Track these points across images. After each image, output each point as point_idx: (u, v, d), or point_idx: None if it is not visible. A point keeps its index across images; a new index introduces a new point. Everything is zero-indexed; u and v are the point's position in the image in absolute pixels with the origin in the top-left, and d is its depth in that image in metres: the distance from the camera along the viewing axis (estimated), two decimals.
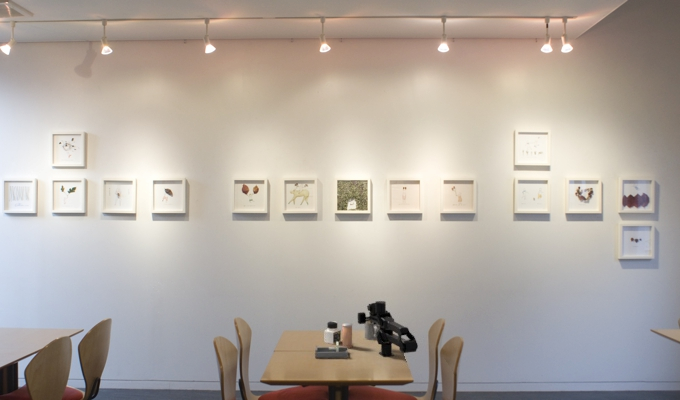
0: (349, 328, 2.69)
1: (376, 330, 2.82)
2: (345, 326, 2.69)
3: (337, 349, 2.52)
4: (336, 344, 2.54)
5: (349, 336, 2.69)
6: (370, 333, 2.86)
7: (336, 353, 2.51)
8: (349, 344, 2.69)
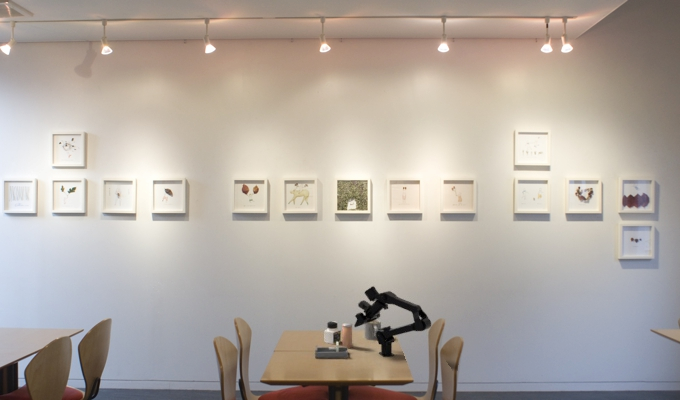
0: (349, 328, 2.69)
1: (376, 330, 2.82)
2: (345, 326, 2.69)
3: (337, 349, 2.52)
4: (336, 344, 2.54)
5: (349, 336, 2.69)
6: (370, 333, 2.86)
7: (336, 353, 2.51)
8: (349, 344, 2.69)
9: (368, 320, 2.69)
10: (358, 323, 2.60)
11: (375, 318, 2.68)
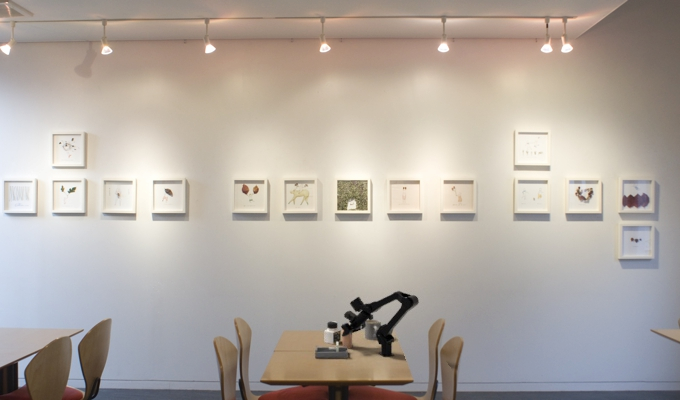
0: None
1: None
2: None
3: (337, 349, 2.52)
4: (336, 344, 2.54)
5: (349, 336, 2.69)
6: (370, 333, 2.86)
7: (336, 353, 2.51)
8: (349, 344, 2.69)
9: (352, 331, 2.73)
10: (345, 333, 2.67)
11: (361, 328, 2.73)
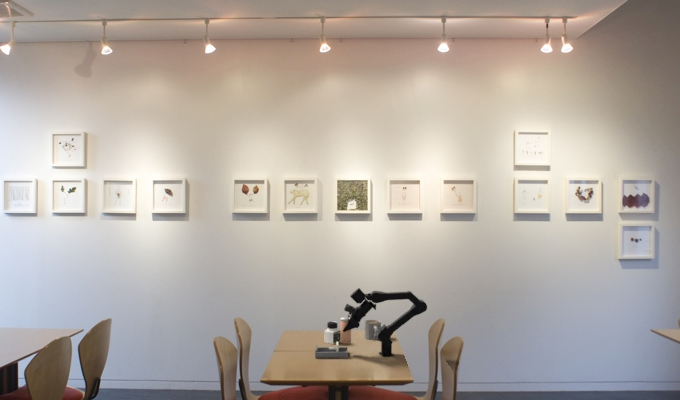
0: None
1: (376, 330, 2.82)
2: (346, 320, 2.54)
3: (337, 349, 2.52)
4: (336, 344, 2.54)
5: (350, 330, 2.55)
6: (370, 333, 2.86)
7: (336, 353, 2.51)
8: (350, 338, 2.55)
9: None
10: (349, 327, 2.53)
11: None
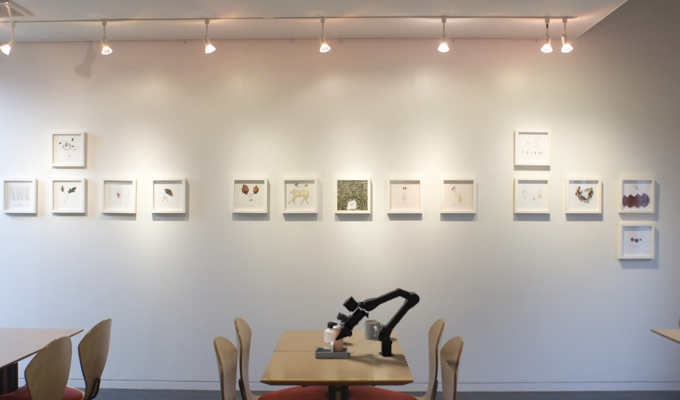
0: None
1: (376, 330, 2.82)
2: (339, 329, 2.53)
3: (332, 349, 2.52)
4: (331, 344, 2.53)
5: (342, 339, 2.54)
6: (370, 333, 2.86)
7: (336, 353, 2.51)
8: (342, 347, 2.54)
9: None
10: (341, 336, 2.52)
11: None
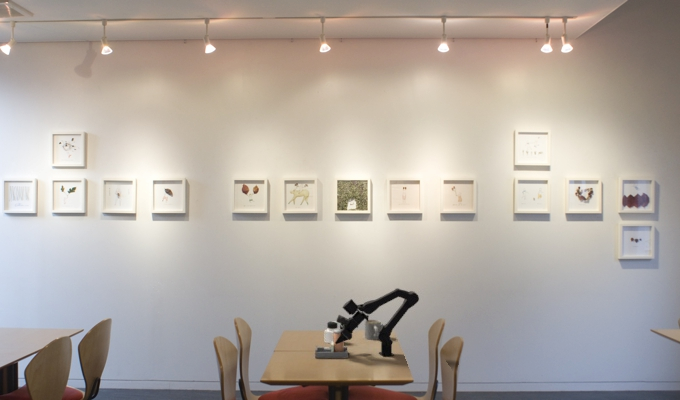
0: None
1: (376, 330, 2.82)
2: (339, 332, 2.53)
3: (332, 349, 2.52)
4: (331, 344, 2.53)
5: (343, 342, 2.54)
6: (370, 333, 2.86)
7: (336, 353, 2.51)
8: (343, 351, 2.54)
9: None
10: (341, 339, 2.50)
11: None
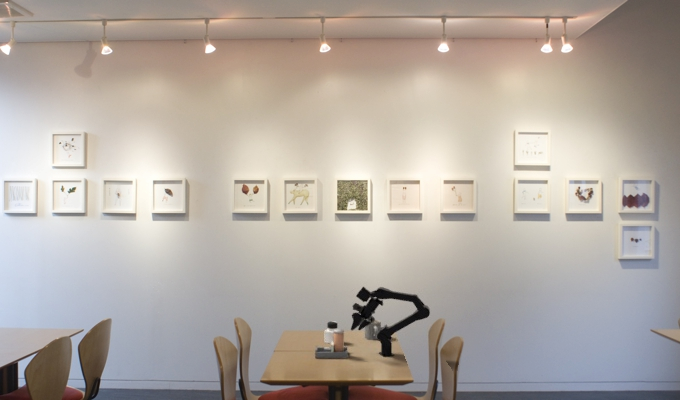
0: (343, 334, 2.54)
1: (376, 330, 2.82)
2: (339, 332, 2.53)
3: (332, 349, 2.52)
4: (331, 344, 2.53)
5: (343, 342, 2.54)
6: (370, 333, 2.86)
7: (336, 353, 2.51)
8: (343, 351, 2.54)
9: (363, 325, 2.63)
10: (355, 324, 2.54)
11: (370, 322, 2.63)
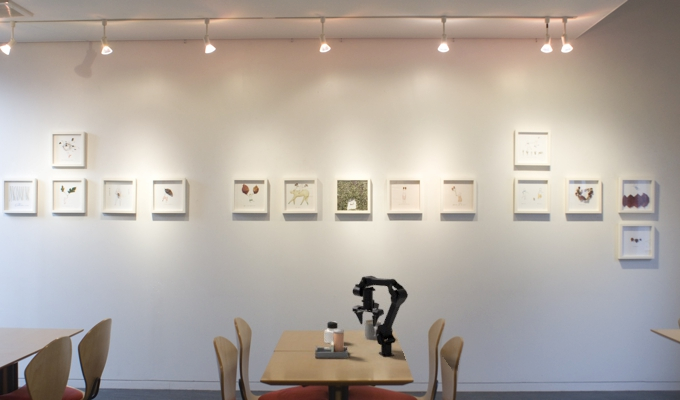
0: (343, 334, 2.54)
1: None
2: (339, 332, 2.53)
3: (332, 349, 2.52)
4: (331, 344, 2.53)
5: (343, 342, 2.54)
6: (370, 333, 2.86)
7: (336, 353, 2.51)
8: (343, 351, 2.54)
9: None
10: None
11: (373, 314, 2.62)
